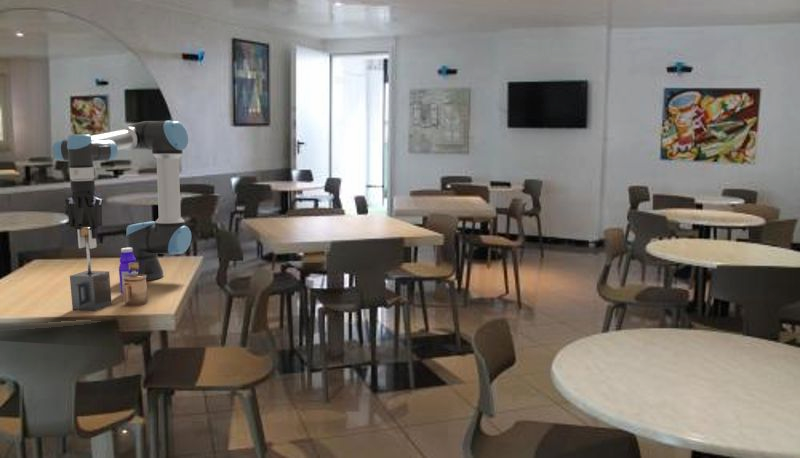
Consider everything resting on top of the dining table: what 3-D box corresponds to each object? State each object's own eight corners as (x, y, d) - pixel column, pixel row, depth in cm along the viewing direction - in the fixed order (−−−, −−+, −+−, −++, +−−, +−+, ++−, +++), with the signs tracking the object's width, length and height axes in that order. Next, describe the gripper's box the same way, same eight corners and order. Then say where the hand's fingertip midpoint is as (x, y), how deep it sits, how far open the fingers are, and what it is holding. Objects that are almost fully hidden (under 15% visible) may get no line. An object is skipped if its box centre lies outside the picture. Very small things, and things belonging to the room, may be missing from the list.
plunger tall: (88, 279, 250) (83, 226, 247) (105, 280, 248) (101, 226, 245) (75, 283, 243) (70, 229, 240) (92, 284, 242) (88, 229, 239)
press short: (132, 299, 257) (130, 260, 255) (152, 300, 255) (149, 261, 253) (115, 307, 246) (112, 266, 244) (135, 308, 245) (132, 266, 243)
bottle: (131, 296, 263) (128, 250, 260) (117, 295, 264) (114, 249, 261) (142, 291, 270) (139, 246, 267) (128, 291, 271) (125, 246, 269)
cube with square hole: (89, 303, 252) (86, 270, 250) (111, 304, 250) (109, 271, 248) (66, 312, 240) (63, 277, 239) (89, 313, 239) (87, 278, 237)
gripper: (53, 180, 239) (59, 249, 242) (97, 180, 235) (102, 250, 238) (68, 179, 246) (73, 245, 249) (110, 179, 242) (115, 246, 246)
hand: (87, 247), depth 244 cm, fingers closed on plunger tall, 4 cm apart
